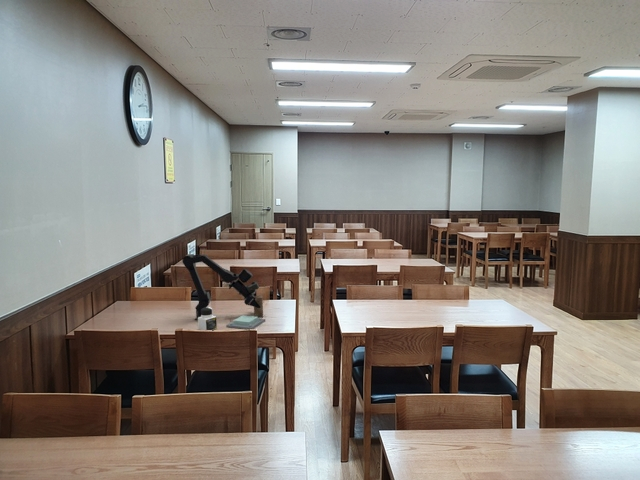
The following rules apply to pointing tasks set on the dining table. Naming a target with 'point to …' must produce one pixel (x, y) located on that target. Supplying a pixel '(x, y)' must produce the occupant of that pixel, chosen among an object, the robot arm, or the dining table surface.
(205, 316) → the medicine bottle
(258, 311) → the walnut pillar
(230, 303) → the dining table surface
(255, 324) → the base plate
